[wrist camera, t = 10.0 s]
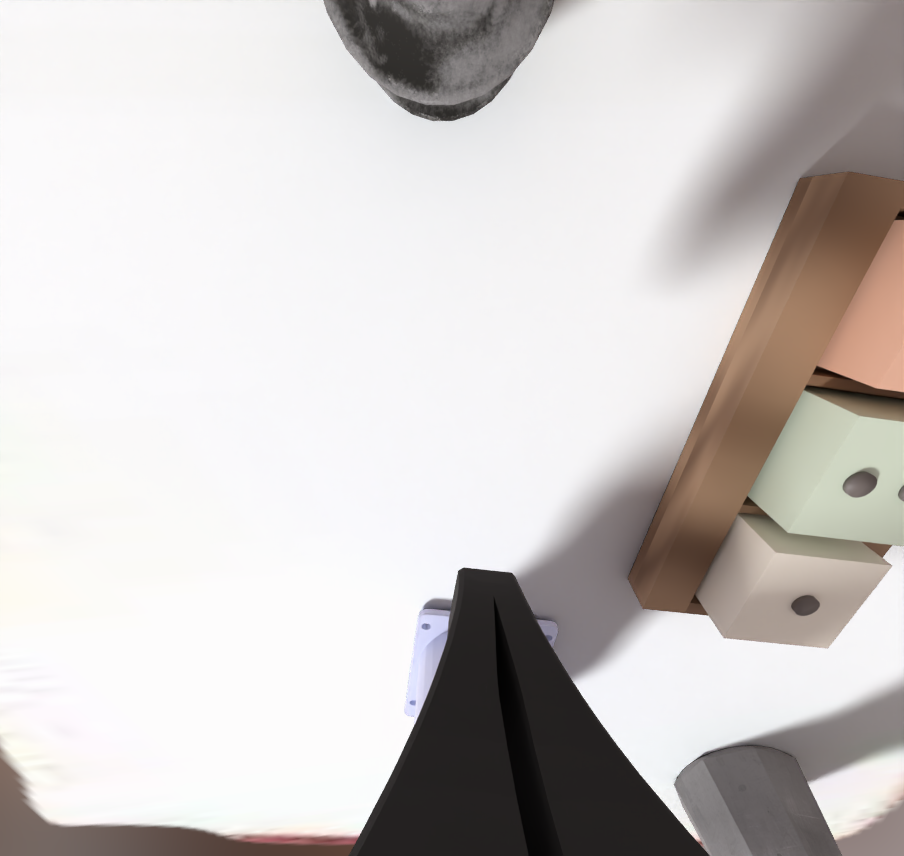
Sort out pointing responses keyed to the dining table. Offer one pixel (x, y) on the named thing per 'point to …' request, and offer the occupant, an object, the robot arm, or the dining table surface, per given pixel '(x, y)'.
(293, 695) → the dining table surface
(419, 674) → the robot arm
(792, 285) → the board
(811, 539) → the beige block
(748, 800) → the coffeepot
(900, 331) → the peach block
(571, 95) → the dining table surface
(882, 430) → the pale green knobbed block
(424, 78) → the salt shaker
